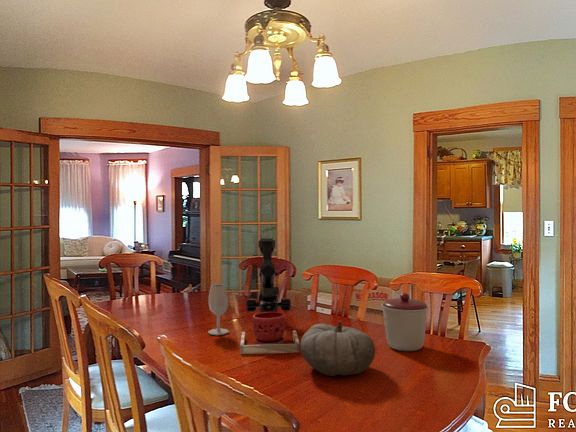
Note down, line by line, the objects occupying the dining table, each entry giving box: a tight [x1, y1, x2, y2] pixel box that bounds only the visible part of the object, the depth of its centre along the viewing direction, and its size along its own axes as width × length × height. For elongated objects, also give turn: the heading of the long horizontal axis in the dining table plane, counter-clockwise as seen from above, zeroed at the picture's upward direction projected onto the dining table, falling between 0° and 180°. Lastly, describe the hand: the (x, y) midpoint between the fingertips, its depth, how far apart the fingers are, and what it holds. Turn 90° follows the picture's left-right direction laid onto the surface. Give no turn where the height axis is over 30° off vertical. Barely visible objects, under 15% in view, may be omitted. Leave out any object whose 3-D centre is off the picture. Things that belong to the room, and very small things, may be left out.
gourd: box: [300, 320, 376, 377], centre depth 148 cm, size 25×25×17 cm
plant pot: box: [252, 311, 286, 345], centre depth 176 cm, size 13×13×12 cm
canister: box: [380, 292, 430, 352], centre depth 171 cm, size 18×18×21 cm
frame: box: [239, 330, 301, 355], centre depth 175 cm, size 19×22×3 cm
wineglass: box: [207, 283, 230, 336], centre depth 193 cm, size 9×9×21 cm
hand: (268, 322), depth 183 cm, fingers closed
